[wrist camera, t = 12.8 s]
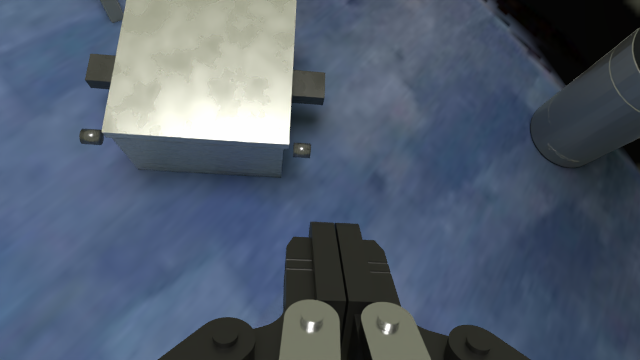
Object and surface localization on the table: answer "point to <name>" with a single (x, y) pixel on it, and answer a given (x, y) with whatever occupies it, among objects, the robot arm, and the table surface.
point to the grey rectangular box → (199, 155)
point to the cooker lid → (204, 72)
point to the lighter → (113, 10)
